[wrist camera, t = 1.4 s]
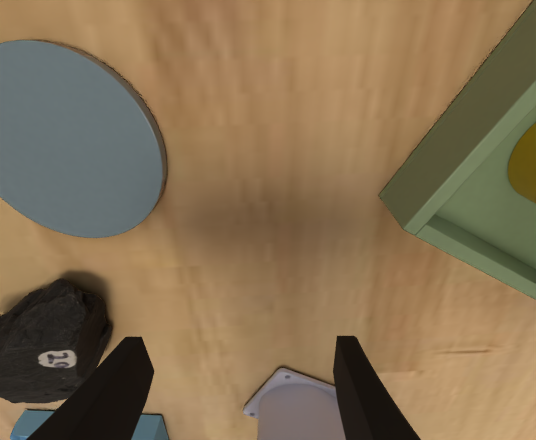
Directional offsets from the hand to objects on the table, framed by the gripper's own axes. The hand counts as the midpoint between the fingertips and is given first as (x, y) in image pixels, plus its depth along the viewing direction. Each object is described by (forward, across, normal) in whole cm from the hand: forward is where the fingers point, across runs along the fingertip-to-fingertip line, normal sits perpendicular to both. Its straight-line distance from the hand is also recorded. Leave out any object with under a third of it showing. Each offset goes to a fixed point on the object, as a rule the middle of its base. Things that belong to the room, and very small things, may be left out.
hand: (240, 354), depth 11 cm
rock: (+10, +17, +8) cm, 21 cm away
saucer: (+9, +10, -5) cm, 15 cm away
